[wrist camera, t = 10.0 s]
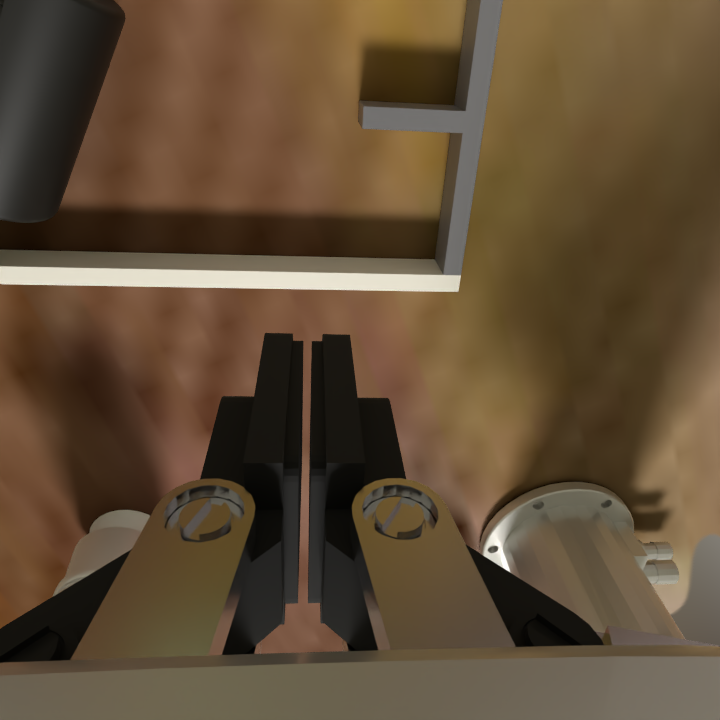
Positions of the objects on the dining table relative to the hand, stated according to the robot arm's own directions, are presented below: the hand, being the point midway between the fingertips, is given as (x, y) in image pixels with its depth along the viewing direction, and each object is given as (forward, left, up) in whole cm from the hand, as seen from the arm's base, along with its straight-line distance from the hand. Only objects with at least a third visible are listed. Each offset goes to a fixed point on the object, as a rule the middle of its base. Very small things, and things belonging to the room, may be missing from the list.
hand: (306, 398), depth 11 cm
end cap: (+13, -4, -23) cm, 26 cm away
